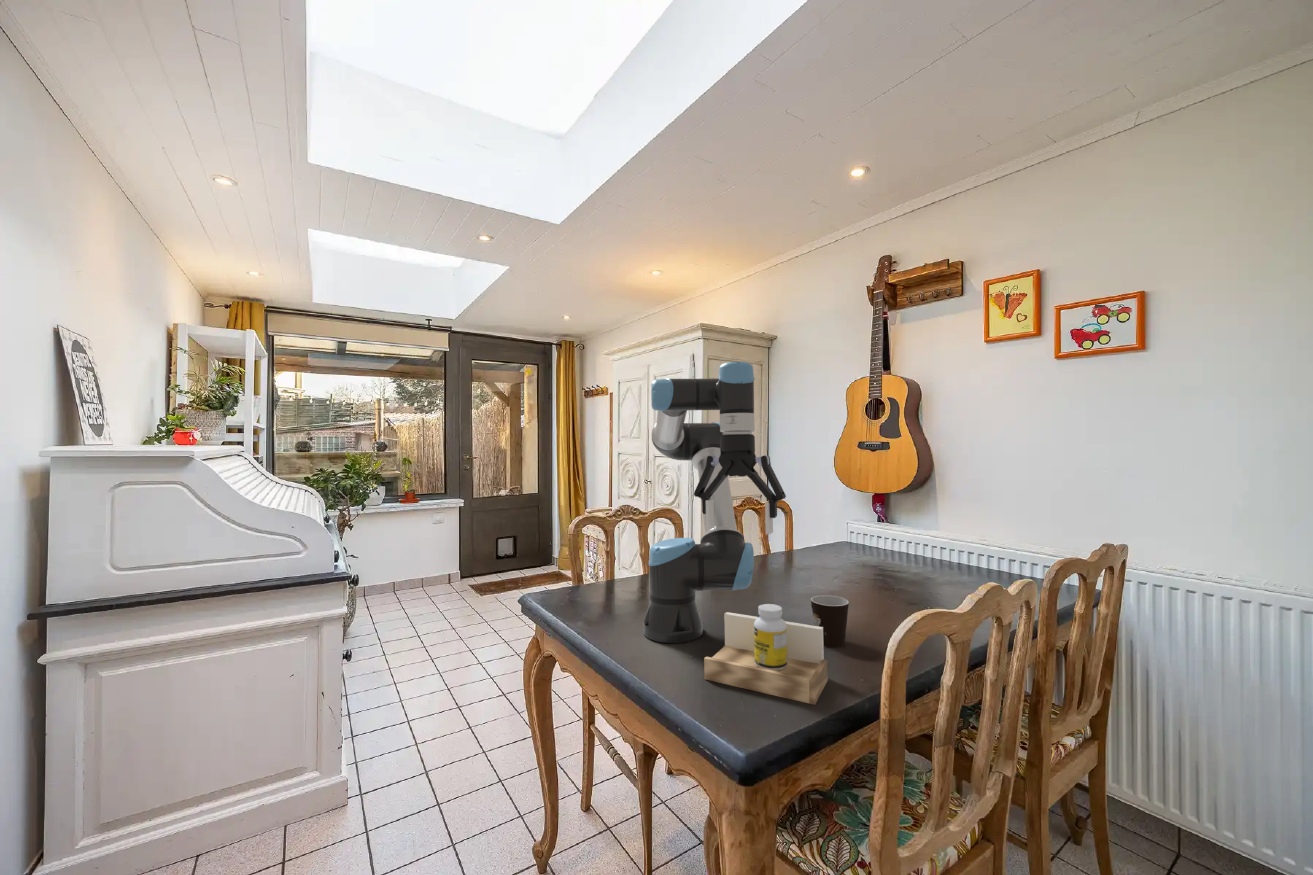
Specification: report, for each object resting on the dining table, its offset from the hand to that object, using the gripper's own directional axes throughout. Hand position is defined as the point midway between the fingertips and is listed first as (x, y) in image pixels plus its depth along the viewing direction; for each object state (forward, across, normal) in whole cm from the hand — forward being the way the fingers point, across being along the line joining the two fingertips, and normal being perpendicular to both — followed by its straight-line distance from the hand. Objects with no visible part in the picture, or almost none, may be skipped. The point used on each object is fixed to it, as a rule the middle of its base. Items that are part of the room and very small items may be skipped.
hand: (738, 531), depth 112 cm
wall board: (+29, +6, +2) cm, 29 cm away
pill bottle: (+26, +8, -4) cm, 28 cm away
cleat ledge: (+29, +6, -4) cm, 30 cm away
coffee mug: (+29, +14, +23) cm, 39 cm away
